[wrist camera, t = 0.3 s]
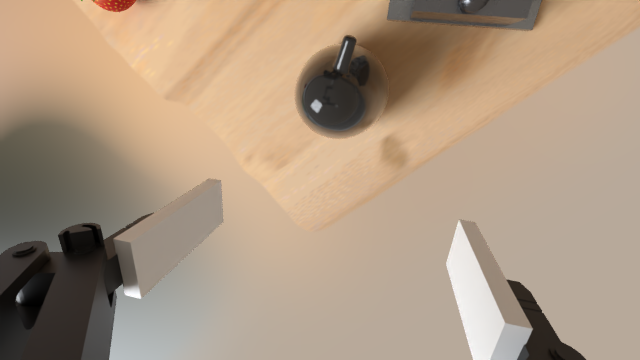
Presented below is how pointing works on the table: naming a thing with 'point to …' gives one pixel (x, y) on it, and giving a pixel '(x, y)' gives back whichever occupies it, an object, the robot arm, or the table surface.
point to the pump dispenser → (341, 90)
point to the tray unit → (467, 12)
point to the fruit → (114, 4)
